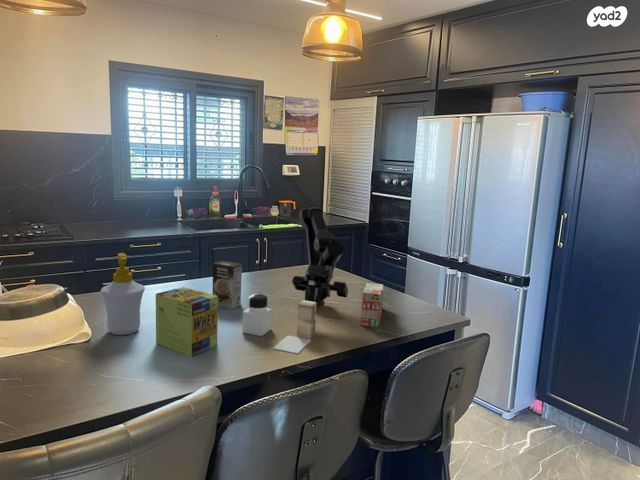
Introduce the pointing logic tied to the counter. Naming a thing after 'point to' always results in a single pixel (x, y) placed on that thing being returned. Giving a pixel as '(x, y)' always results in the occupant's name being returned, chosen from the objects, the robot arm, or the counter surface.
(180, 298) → the protein box
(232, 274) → the coffee box
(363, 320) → the stack of blocks
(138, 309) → the soap bottle
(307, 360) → the counter surface
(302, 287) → the robot arm
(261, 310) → the medicine bottle
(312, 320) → the beech block
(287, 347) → the felt mat
